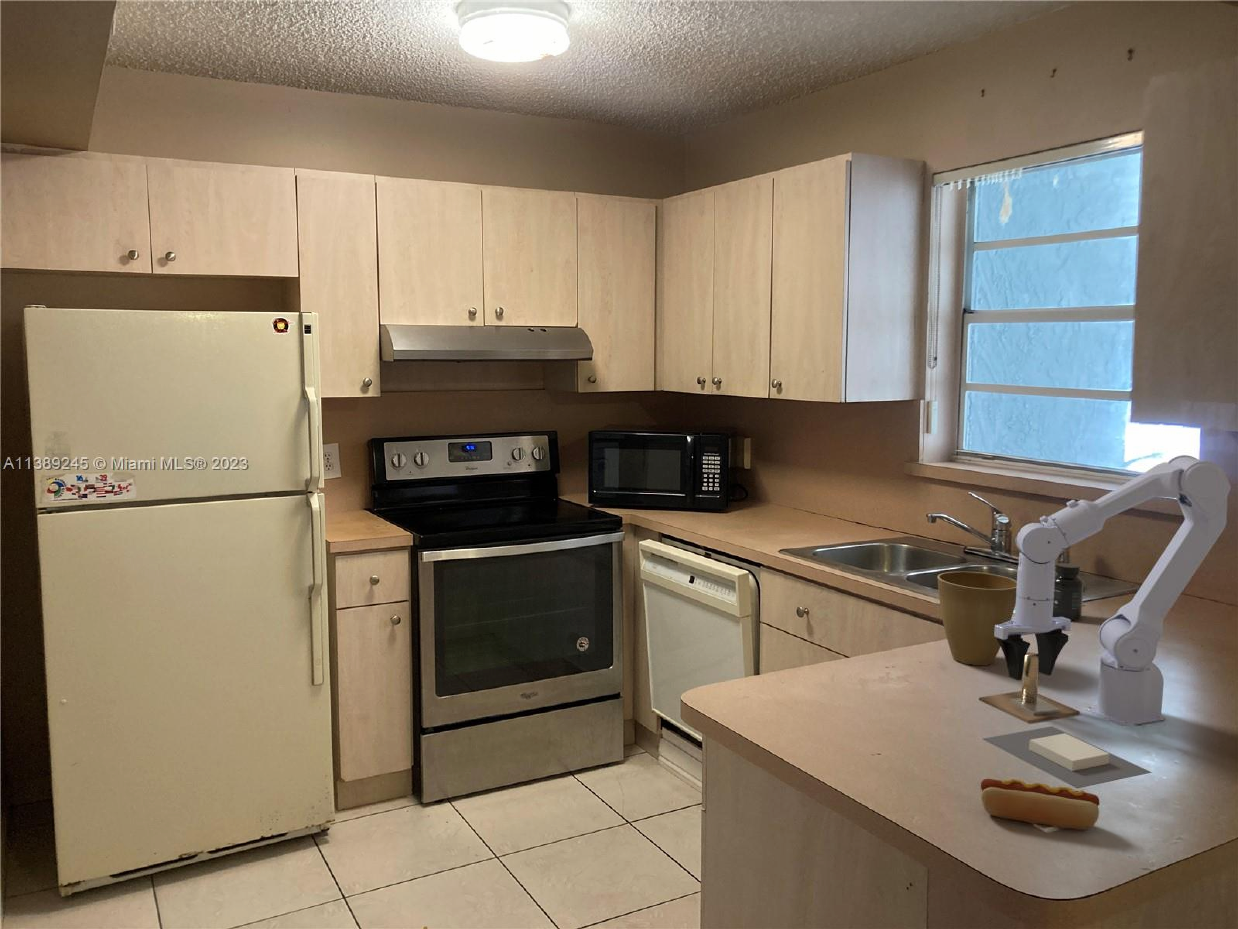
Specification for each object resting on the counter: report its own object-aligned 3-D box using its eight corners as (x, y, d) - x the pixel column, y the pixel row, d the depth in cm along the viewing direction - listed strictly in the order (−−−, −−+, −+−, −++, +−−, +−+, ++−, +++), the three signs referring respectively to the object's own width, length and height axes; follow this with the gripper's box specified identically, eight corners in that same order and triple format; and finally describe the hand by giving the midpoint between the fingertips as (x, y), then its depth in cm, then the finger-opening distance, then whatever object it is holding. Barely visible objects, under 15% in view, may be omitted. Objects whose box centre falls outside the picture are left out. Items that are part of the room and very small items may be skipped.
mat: (1051, 728, 154) (1051, 726, 154) (1151, 774, 138) (1151, 772, 138) (982, 741, 149) (982, 738, 149) (1076, 790, 132) (1076, 787, 132)
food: (1094, 820, 124) (1097, 783, 124) (1100, 840, 119) (1102, 802, 119) (978, 802, 129) (980, 766, 128) (979, 821, 124) (981, 784, 123)
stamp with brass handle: (1010, 702, 163) (1012, 653, 162) (1035, 700, 165) (1038, 651, 164) (1033, 715, 158) (1036, 664, 157) (1059, 713, 159) (1063, 662, 158)
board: (1028, 694, 170) (1028, 689, 170) (1079, 716, 160) (1079, 711, 160) (978, 702, 166) (979, 697, 166) (1027, 725, 156) (1027, 720, 155)
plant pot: (989, 678, 178) (993, 592, 176) (918, 657, 189) (922, 577, 188) (1030, 662, 188) (1034, 581, 186) (960, 643, 199) (964, 567, 197)
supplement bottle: (1041, 614, 222) (1044, 563, 220) (1065, 612, 224) (1068, 561, 222) (1063, 622, 215) (1066, 569, 214) (1088, 620, 217) (1091, 567, 216)
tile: (1065, 733, 147) (1109, 753, 140) (1064, 743, 147) (1108, 764, 140) (1029, 740, 145) (1072, 761, 137) (1029, 750, 145) (1071, 771, 137)
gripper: (1049, 587, 167) (1044, 663, 168) (982, 594, 161) (978, 673, 163) (1082, 597, 160) (1077, 676, 162) (1014, 605, 155) (1009, 687, 157)
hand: (1030, 676), depth 162 cm, fingers open, 6 cm apart
